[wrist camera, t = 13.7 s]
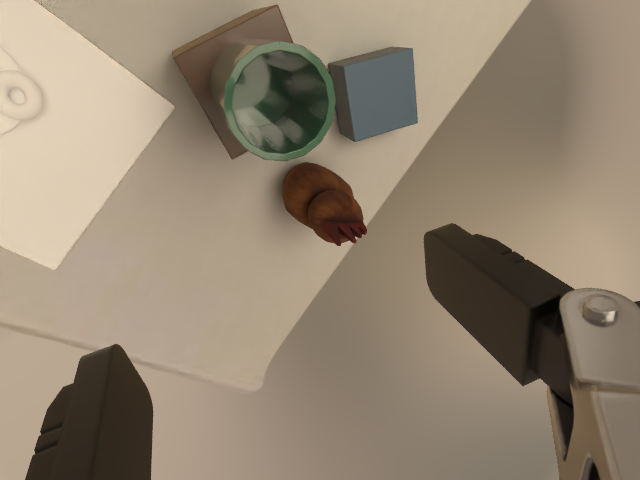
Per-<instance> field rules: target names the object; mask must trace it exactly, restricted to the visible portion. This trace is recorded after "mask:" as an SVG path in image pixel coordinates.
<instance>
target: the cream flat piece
mask: <svg viewBox="0 0 640 480" xmlns="http://www.w3.org/2000/svg"><path fill="white" fill-rule="evenodd" d="M44 105H45V98H44V94H43V91H42V89H41V88H40V86H39V85H38V83H37V82H36V81H35V80H34V79H33V78H31V77H30V76H29V75H27V74H26V73H24V72H23V71H22V69H21V68H20V66H19V65H18V63H17V62H16V61H15V60H14V58H13V57H12V56H11V55H10V54H9V53H8V52H7V51H6V50H5V49H4V48H3V47H1V46H0V136H1V135H4V134H6V133H8V132H10V131H12V130H13V129H14V128H16V127H17V126H18V125H19V124H20V123H21V122H22V121H29V120H32V119H34V118H36V117H37V116H38V115H39V114H40V113H41V112H42V111H43V109H44Z"/></svg>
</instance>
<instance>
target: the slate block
mask: <svg viewBox="0 0 640 480" xmlns="http://www.w3.org/2000/svg"><path fill="white" fill-rule="evenodd" d="M329 69H330V75H331V78H332V80H333V86H334V92H335V98H336V111H337V117H338V123H339V129H340V133H341V134H342V135H344V136H346V137H348V138H349V139H351V140H353V141H354V142H356V141H360V140H363V139H366V138H369V137H373V136H376V135H379V134H383V133H386V132H389V131H392V130H396V129H399V128H402V127H406V126H409V125H412V124H415V123H418V120H417V105H416V90H415V76H414V61H413V49H412V48H401V47H390V48H386V49H382V50H378V51H374V52H371V53H367V54H363V55H359V56H355V57H351V58H348V59H344V60H340V61H336V62H332V63H329Z"/></svg>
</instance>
